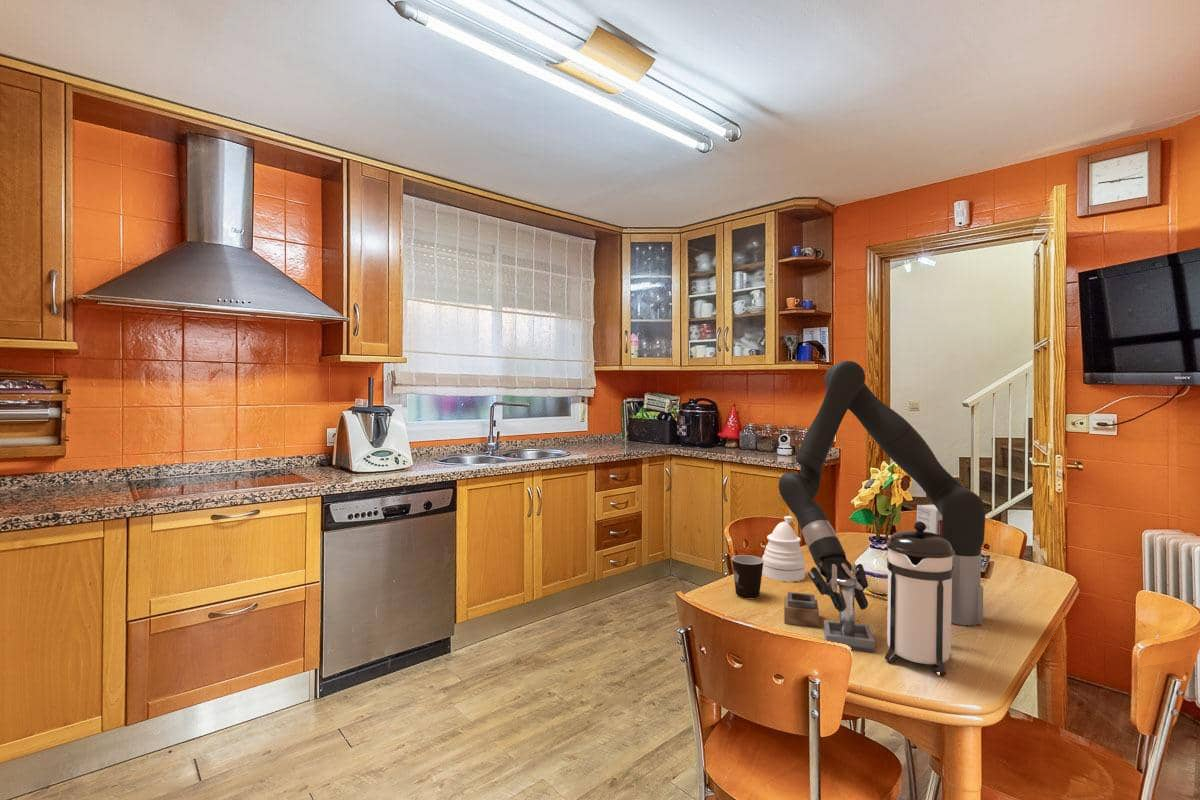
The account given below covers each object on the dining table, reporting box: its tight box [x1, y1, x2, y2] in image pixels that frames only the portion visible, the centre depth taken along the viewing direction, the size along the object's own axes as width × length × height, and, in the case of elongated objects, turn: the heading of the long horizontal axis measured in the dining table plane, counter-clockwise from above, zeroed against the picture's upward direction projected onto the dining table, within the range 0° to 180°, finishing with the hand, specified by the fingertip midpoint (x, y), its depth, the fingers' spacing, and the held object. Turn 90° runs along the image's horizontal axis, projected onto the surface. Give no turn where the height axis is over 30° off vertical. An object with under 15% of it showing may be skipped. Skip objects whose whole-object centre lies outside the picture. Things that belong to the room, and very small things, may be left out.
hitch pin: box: [837, 577, 856, 637], centre depth 134 cm, size 4×4×13 cm
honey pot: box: [761, 515, 806, 583], centre depth 180 cm, size 13×13×18 cm
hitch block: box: [783, 591, 820, 628], centre depth 147 cm, size 8×8×6 cm
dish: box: [823, 619, 876, 653], centre depth 134 cm, size 10×9×2 cm
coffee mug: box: [731, 554, 764, 599], centre depth 165 cm, size 12×9×10 cm
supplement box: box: [916, 504, 942, 536], centre depth 202 cm, size 10×9×17 cm
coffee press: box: [884, 521, 955, 676], centre depth 126 cm, size 17×16×30 cm
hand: (853, 608), depth 132 cm, fingers open, 5 cm apart
